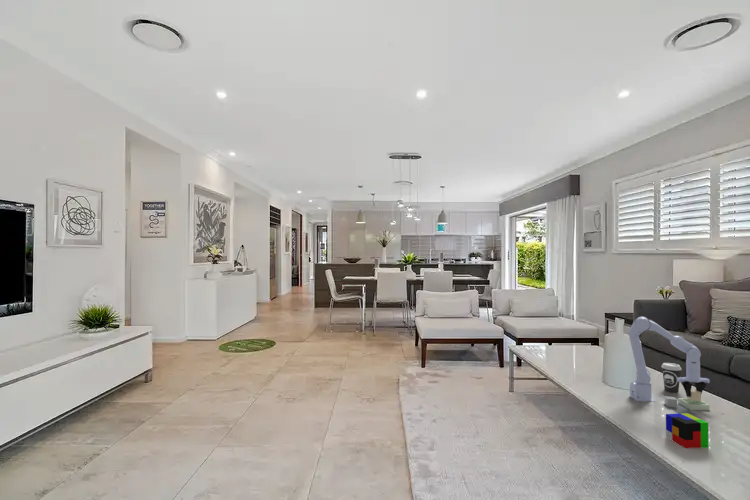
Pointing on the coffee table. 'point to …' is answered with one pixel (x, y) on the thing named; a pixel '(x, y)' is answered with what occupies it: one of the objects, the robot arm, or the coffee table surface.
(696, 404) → the green bin
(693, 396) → the tan wooden cube
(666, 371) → the coffee cup
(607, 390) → the coffee table surface
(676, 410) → the slate mat
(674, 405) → the matte grey cube
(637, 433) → the coffee table surface
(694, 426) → the puzzle toy
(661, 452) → the coffee table surface
